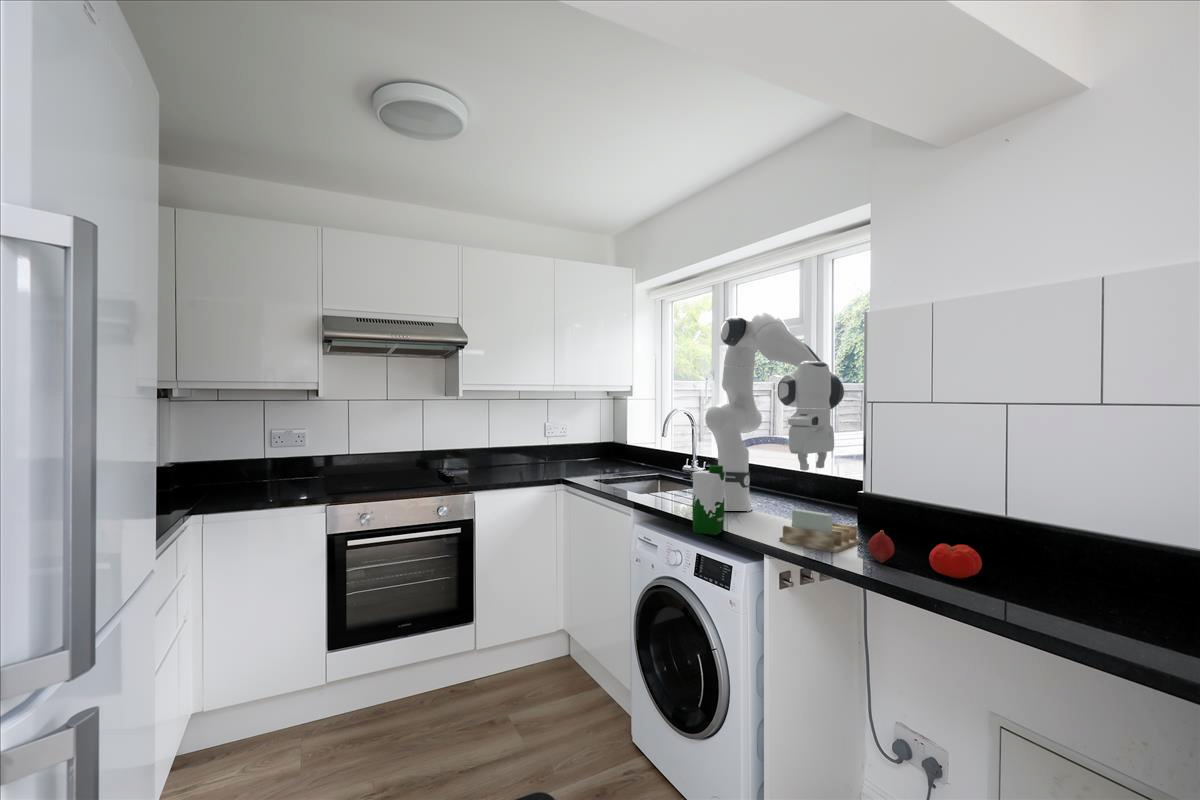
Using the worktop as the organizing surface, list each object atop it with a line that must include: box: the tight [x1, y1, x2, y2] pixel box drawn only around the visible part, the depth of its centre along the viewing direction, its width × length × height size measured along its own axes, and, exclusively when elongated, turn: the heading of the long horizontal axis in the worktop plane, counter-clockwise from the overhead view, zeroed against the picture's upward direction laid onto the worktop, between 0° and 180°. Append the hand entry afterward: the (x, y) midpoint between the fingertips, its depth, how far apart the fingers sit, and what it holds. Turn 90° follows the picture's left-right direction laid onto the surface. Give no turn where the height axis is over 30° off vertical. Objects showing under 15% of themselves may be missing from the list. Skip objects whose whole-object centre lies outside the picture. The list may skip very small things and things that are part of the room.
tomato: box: [928, 543, 983, 579], centre depth 125 cm, size 10×11×6 cm
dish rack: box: [778, 522, 861, 554], centre depth 153 cm, size 16×16×4 cm
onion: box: [867, 529, 895, 564], centre depth 133 cm, size 6×6×8 cm
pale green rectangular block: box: [791, 508, 833, 534], centre depth 149 cm, size 10×3×8 cm, turn 43°
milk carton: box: [692, 464, 726, 536], centre depth 164 cm, size 9×9×20 cm
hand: (812, 469), depth 150 cm, fingers open, 8 cm apart
